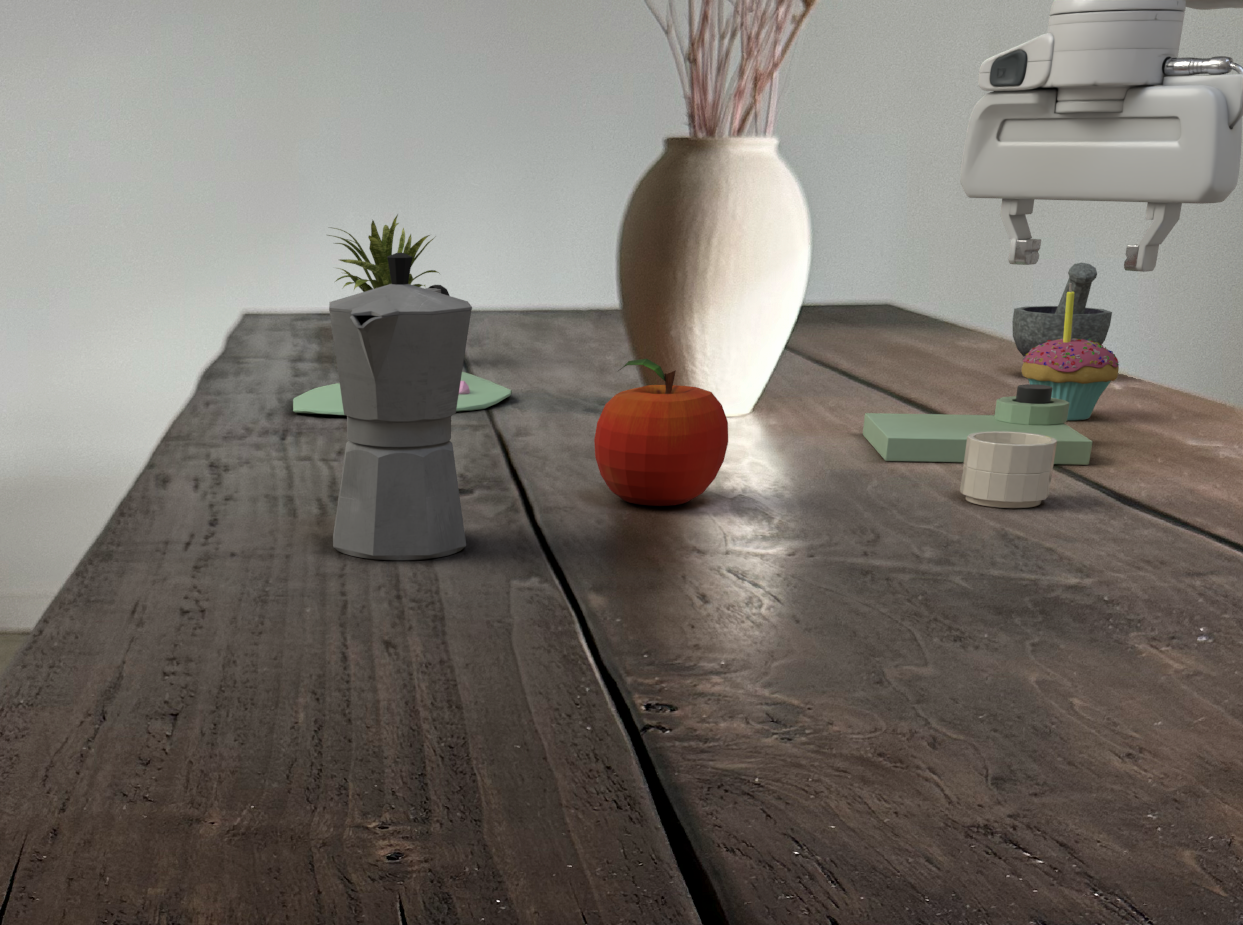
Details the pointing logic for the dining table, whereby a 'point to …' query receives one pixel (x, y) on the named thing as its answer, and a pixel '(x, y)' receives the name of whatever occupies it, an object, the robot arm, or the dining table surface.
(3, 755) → the dining table surface
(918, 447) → the scale
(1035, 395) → the button
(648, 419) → the fruit
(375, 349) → the coffeepot
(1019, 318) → the mortar and pestle
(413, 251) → the house plant
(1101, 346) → the cupcake
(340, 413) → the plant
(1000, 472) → the bowl
